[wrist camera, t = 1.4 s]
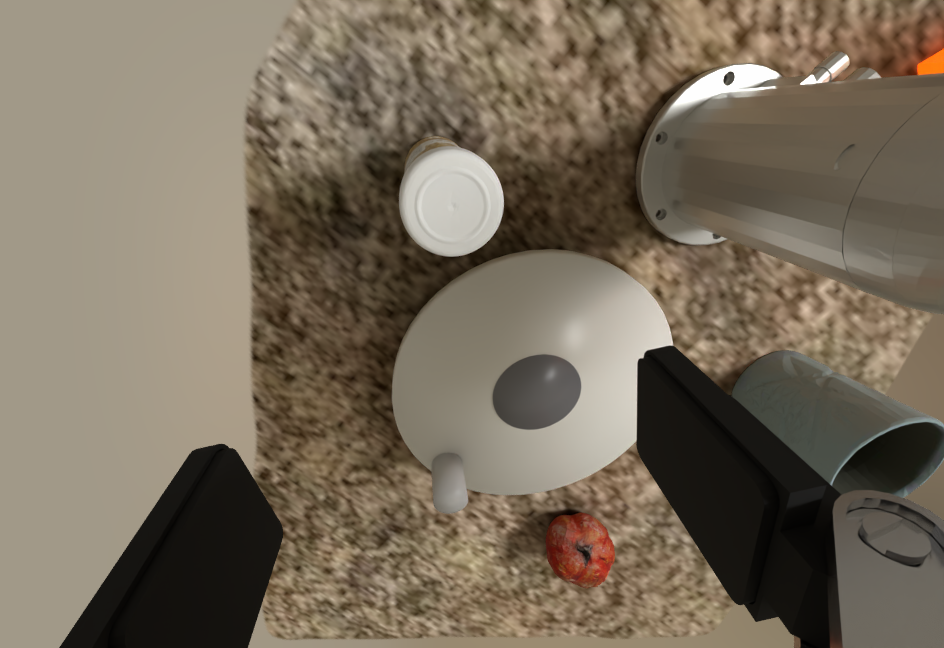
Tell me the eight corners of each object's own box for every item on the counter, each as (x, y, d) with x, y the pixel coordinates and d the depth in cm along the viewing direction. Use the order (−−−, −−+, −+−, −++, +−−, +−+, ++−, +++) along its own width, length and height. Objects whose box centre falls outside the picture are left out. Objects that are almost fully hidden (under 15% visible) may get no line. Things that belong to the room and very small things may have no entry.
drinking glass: (707, 393, 43) (806, 486, 32) (790, 322, 40) (928, 397, 29) (756, 435, 46) (859, 530, 36) (834, 373, 44) (970, 456, 33)
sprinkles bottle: (479, 160, 29) (527, 190, 17) (445, 215, 31) (468, 277, 19) (424, 120, 28) (434, 124, 16) (390, 180, 29) (378, 224, 17)
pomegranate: (592, 515, 52) (627, 512, 44) (598, 582, 49) (636, 595, 40) (535, 512, 52) (558, 509, 43) (536, 580, 49) (561, 592, 40)
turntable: (551, 175, 30) (591, 191, 24) (695, 365, 40) (752, 414, 34) (334, 376, 35) (317, 436, 29) (509, 500, 45) (526, 566, 39)
